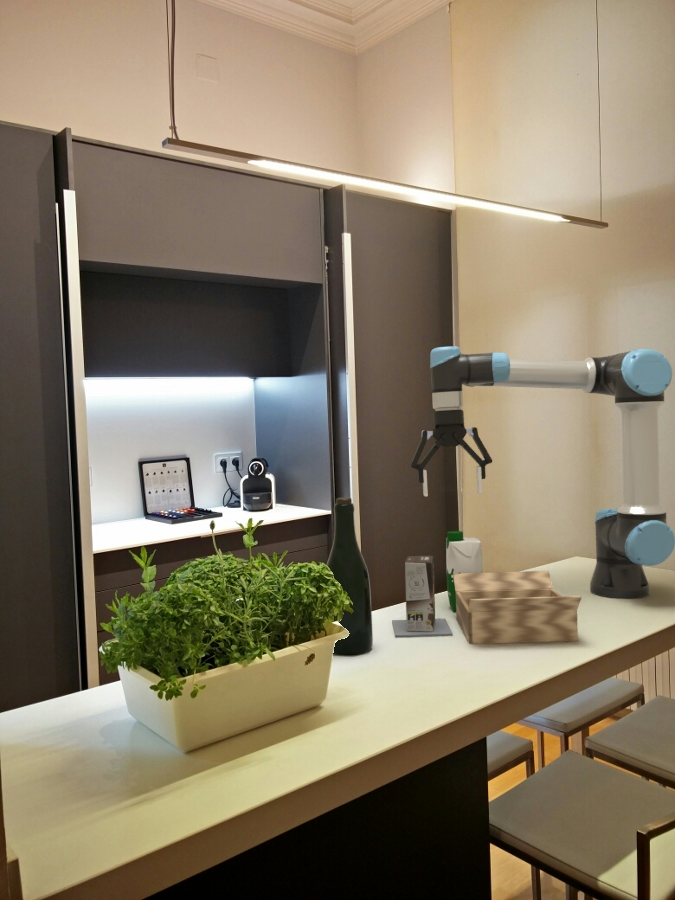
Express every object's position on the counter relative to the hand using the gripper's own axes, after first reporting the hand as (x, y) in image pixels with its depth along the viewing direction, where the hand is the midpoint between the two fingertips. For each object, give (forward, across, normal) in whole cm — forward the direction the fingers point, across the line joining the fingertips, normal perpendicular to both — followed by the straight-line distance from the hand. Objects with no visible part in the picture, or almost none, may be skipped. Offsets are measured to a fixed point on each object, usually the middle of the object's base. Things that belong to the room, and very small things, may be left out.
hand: (452, 494), depth 189 cm
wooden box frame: (+30, -10, +16) cm, 36 cm away
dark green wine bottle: (+30, +28, +26) cm, 49 cm away
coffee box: (+29, +11, +12) cm, 34 cm away
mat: (+30, +11, +12) cm, 34 cm away
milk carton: (+30, -2, -4) cm, 31 cm away
